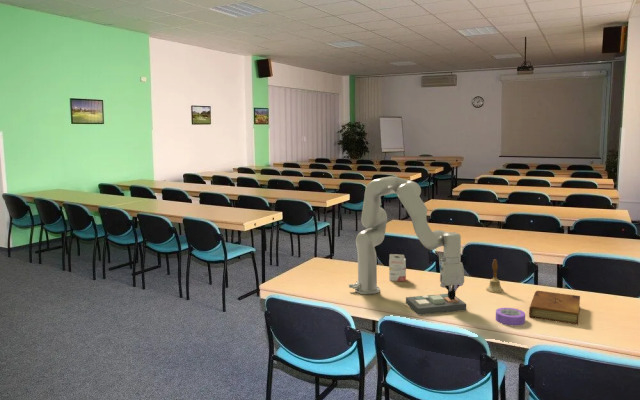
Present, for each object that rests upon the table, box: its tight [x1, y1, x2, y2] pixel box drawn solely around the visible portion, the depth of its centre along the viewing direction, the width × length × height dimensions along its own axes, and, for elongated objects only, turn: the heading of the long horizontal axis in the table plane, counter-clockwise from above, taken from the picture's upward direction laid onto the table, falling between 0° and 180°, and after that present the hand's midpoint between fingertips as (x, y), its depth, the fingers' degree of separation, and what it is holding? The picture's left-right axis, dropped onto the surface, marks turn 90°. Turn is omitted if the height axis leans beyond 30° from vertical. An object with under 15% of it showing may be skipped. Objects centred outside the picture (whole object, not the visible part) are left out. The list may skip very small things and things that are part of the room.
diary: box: [528, 290, 581, 326], centre depth 219 cm, size 23×19×6 cm
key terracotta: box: [444, 297, 459, 303], centre depth 228 cm, size 5×5×2 cm
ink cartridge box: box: [388, 253, 407, 282], centre depth 269 cm, size 9×5×15 cm, turn 73°
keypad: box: [405, 293, 467, 316], centre depth 228 cm, size 23×15×4 cm, turn 100°
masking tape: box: [495, 307, 526, 327], centre depth 211 cm, size 12×12×4 cm
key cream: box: [415, 299, 430, 306], centre depth 226 cm, size 5×5×2 cm
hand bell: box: [485, 258, 504, 294], centre depth 248 cm, size 8×8×16 cm
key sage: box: [429, 294, 444, 304], centre depth 227 cm, size 5×5×2 cm
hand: (451, 298), depth 228 cm, fingers closed
